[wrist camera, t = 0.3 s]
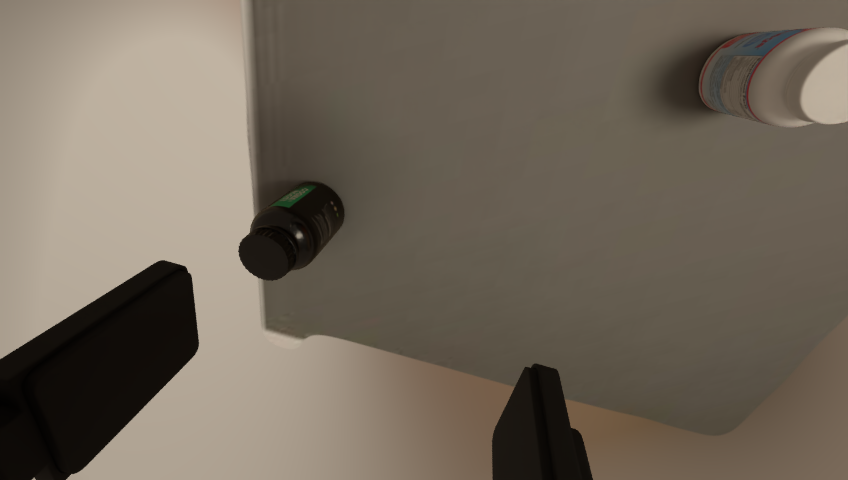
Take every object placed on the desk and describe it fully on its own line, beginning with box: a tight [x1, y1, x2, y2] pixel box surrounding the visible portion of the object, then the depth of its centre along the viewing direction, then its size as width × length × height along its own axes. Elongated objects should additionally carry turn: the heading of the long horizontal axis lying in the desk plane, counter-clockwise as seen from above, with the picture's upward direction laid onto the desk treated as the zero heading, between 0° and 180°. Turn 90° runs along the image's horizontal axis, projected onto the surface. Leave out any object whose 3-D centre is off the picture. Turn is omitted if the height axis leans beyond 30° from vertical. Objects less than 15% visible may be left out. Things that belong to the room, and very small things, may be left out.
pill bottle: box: [699, 28, 848, 127], centre depth 26 cm, size 6×6×11 cm
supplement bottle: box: [238, 182, 344, 281], centre depth 38 cm, size 7×7×12 cm
